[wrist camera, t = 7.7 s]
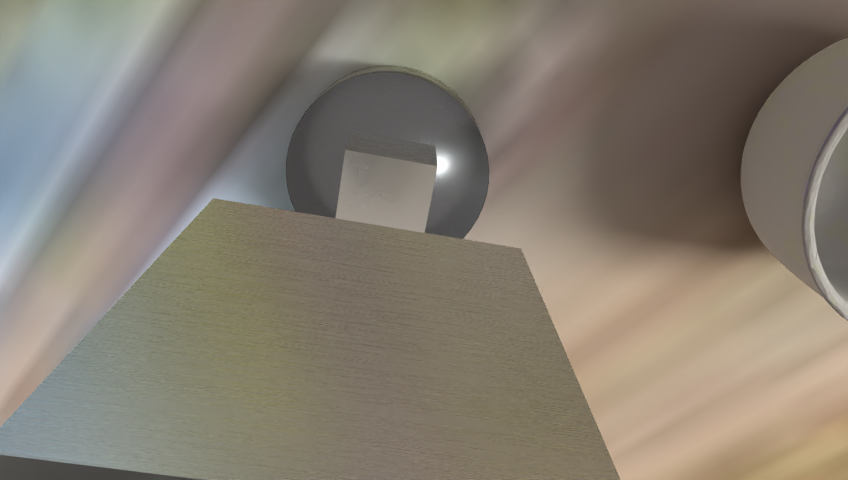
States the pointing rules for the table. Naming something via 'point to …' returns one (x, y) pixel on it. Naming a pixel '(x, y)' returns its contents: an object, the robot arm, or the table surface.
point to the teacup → (804, 174)
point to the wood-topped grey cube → (314, 365)
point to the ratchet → (390, 154)
